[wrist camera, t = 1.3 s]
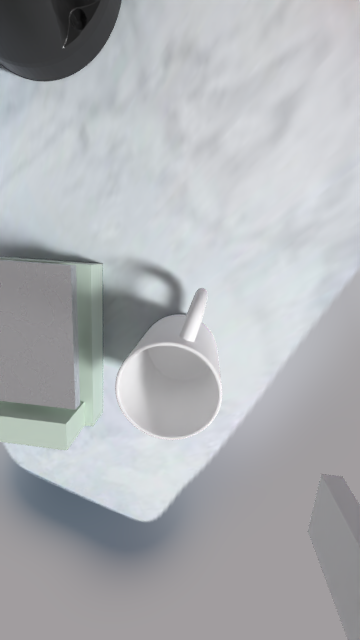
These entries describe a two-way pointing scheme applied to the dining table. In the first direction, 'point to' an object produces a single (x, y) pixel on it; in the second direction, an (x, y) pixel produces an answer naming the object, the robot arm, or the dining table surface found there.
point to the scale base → (65, 424)
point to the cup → (172, 376)
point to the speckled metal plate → (39, 334)
